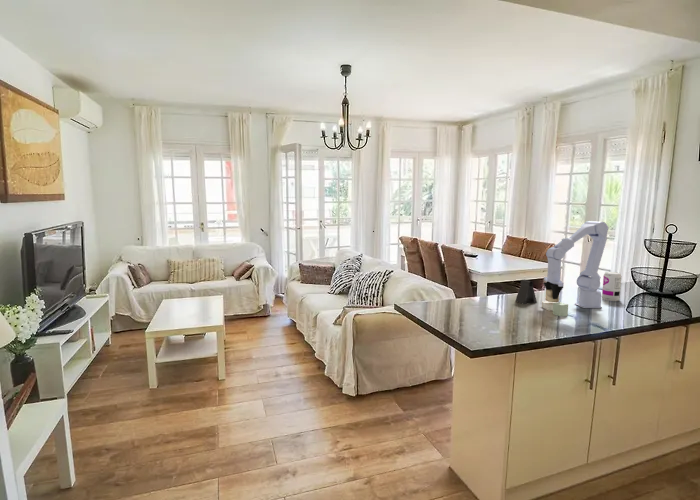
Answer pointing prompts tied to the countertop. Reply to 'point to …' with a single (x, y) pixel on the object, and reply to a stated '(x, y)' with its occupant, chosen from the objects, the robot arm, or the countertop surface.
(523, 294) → the door stopper
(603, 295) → the supplement can
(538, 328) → the countertop surface
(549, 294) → the beech block
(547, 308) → the pedestal block
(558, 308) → the sage block
